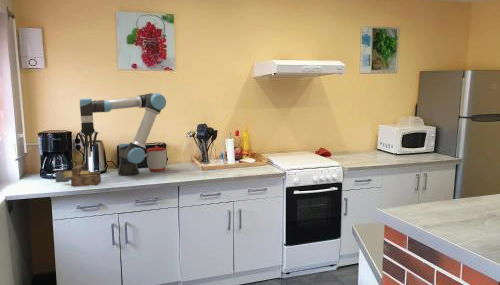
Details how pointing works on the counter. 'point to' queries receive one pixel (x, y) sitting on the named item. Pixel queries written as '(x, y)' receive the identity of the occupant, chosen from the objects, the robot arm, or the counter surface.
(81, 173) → the axle
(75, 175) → the brown wooden l-shaped block
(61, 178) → the v block
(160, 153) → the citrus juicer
